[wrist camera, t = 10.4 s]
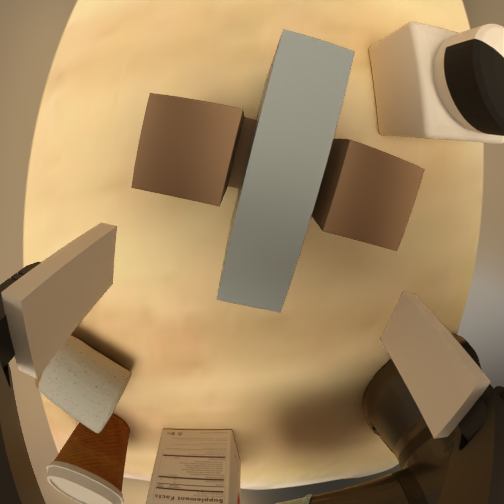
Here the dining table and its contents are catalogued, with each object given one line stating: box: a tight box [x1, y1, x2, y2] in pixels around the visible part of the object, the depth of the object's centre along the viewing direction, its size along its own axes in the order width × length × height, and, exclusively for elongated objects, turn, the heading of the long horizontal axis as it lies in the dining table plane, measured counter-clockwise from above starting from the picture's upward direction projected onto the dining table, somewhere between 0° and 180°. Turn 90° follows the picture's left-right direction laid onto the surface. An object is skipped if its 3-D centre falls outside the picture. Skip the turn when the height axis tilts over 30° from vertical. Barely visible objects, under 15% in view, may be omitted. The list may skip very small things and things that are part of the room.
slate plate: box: [217, 29, 354, 312], centre depth 17 cm, size 3×12×10 cm, turn 166°
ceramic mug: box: [35, 335, 131, 433], centre depth 25 cm, size 11×8×8 cm
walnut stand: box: [131, 93, 424, 251], centre depth 16 cm, size 12×4×10 cm, turn 76°
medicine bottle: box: [369, 22, 504, 144], centre depth 14 cm, size 7×7×12 cm
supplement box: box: [146, 429, 240, 504], centre depth 27 cm, size 9×9×15 cm
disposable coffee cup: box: [47, 413, 130, 504], centre depth 27 cm, size 10×10×12 cm
